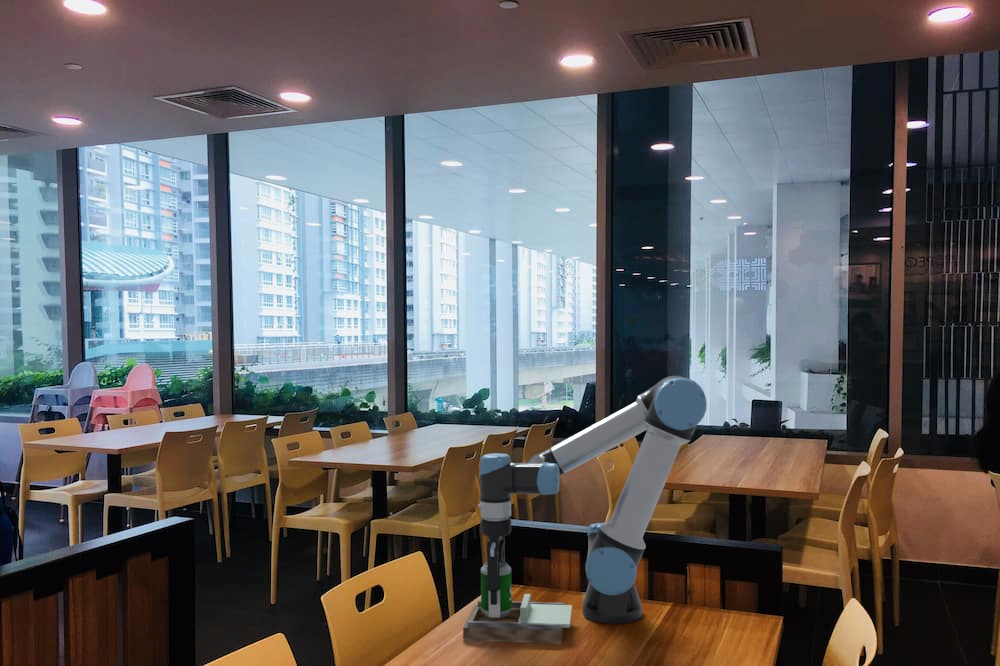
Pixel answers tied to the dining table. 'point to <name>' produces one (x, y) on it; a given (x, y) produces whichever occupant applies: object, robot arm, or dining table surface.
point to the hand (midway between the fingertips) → (497, 610)
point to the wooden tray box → (510, 627)
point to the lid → (545, 613)
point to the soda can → (503, 586)
